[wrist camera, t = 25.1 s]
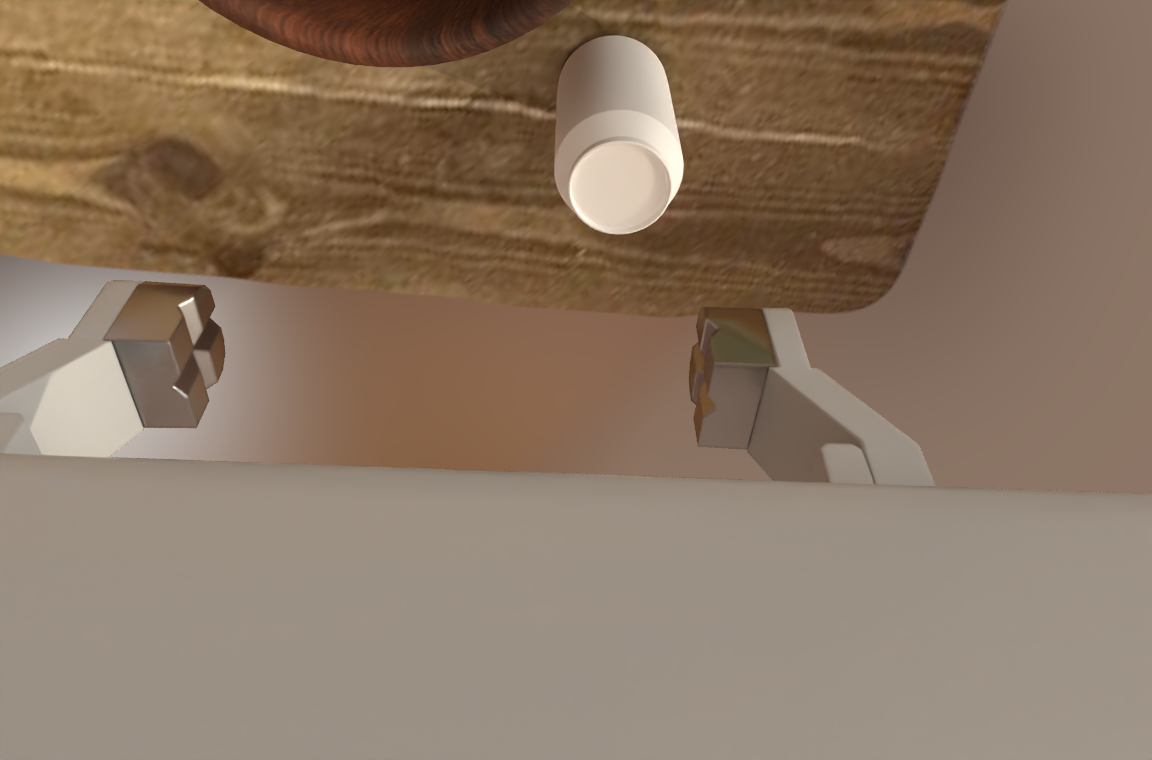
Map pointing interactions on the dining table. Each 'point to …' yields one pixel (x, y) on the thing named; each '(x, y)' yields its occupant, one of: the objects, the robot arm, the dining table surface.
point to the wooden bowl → (389, 27)
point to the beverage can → (616, 136)
